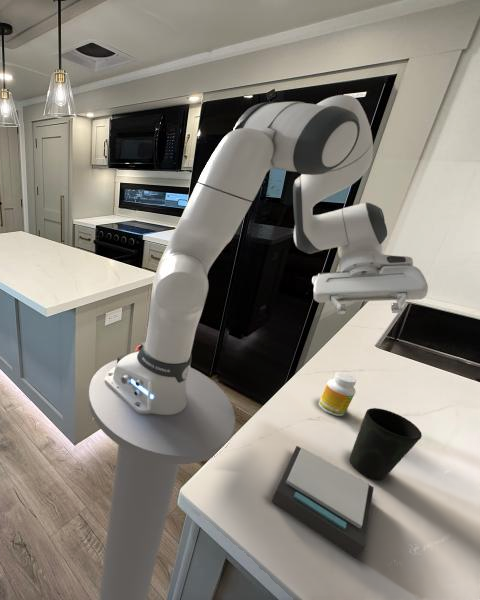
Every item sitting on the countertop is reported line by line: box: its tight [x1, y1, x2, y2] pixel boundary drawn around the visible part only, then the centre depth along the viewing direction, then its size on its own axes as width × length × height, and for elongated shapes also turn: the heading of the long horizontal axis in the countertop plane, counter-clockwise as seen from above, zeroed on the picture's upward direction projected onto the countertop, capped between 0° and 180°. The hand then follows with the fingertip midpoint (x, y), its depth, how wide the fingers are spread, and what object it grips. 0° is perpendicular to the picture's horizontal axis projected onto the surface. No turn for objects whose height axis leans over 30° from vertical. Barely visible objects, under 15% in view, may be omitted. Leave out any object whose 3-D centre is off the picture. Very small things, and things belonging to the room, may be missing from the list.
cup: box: [348, 407, 423, 481], centre depth 60 cm, size 8×8×12 cm
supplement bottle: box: [318, 371, 357, 417], centre depth 76 cm, size 5×5×10 cm
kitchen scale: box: [270, 445, 374, 559], centre depth 55 cm, size 12×14×4 cm
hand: (368, 311), depth 72 cm, fingers open, 8 cm apart
